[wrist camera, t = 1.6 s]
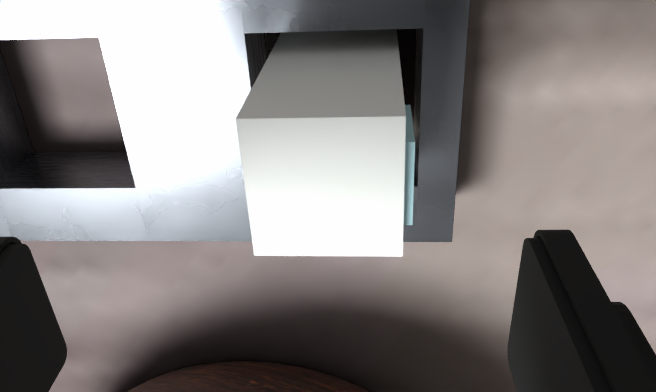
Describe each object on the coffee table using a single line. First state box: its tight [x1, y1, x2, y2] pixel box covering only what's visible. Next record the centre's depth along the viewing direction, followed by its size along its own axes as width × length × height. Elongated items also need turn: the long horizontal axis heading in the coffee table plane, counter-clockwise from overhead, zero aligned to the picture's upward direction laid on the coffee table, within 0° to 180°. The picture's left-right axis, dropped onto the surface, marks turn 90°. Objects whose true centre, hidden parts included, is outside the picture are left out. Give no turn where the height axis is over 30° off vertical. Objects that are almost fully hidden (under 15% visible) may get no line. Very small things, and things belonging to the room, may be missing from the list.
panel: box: [0, 0, 470, 242], centre depth 20 cm, size 18×10×3 cm, turn 93°
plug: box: [236, 29, 415, 257], centre depth 18 cm, size 4×4×8 cm
